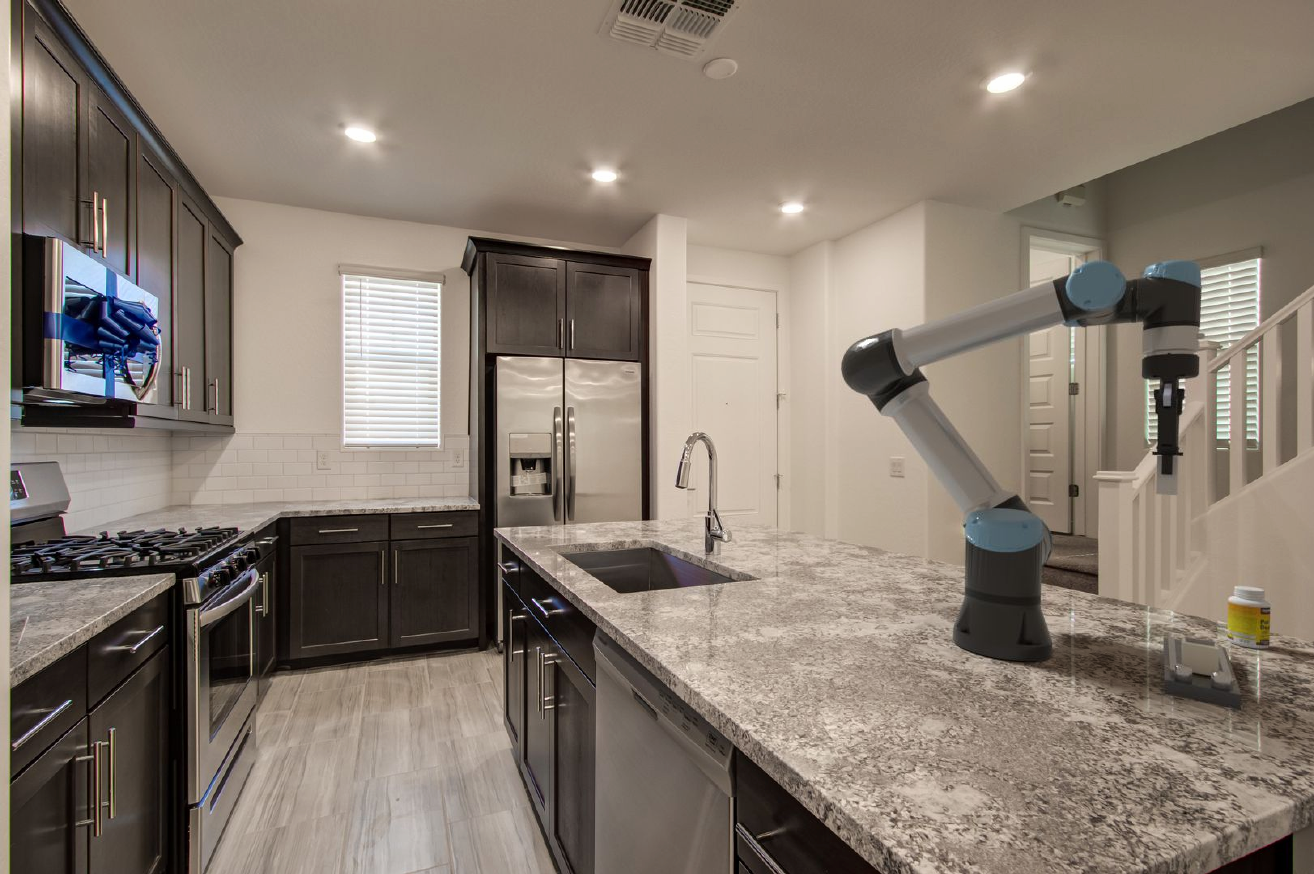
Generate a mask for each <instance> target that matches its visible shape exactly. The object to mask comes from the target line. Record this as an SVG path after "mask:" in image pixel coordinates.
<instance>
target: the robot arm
mask: <svg viewBox="0 0 1314 874" xmlns="http://www.w3.org/2000/svg"><path fill="white" fill-rule="evenodd" d="M1201 270H1202V269H1201V266H1200V264H1199V263H1198V262H1196V261H1194V260H1189V259H1188V260H1187V259H1180V260H1179V259H1177V260H1176V259H1174V260H1167V261H1163V262H1156V263H1154V264H1151V265H1149V266H1147V267H1146V268H1145V270H1144V271H1143V275H1142V277H1139V278H1133V279H1126V277H1125V275H1124V274H1123V272H1122V270H1121V269H1120V268H1119V267H1118V265H1116V264H1115V263H1113V262H1110V261H1106V260H1098V259H1097V260H1091V261H1088V262H1084V263H1082V264H1080V265H1079V266H1078V267H1076V268H1075V269H1074V270H1073V271H1072V272H1071V273H1070V274H1067V275H1063V276H1061V277H1058V278H1055V279H1053V280H1050V281H1046V282H1043V283H1041V284H1038V285H1035V286H1034V285H1033V286H1032V287H1029V288H1026V289H1023V290H1020V291H1017V292H1014V293H1012V294H1008V295H1005V296H1002V297H999V298H997V299H994V300H991V301H987V302H985V303H982V304H978V305H975V306H973V307H970V308H967V309H964V310H961V311H958V312H954V313H952V314H949V315H946V316H944V317H940V318H937V319H934V320H932V321H931V320H930V321H928V322H925V323H922V324H920V325H916V326H913V327H910V328H907V329H905V330H904V329H903V330H902V329H900V328H898V327H894V328H891V329H890V328H889V329H888V330H885V331H882V332H879V333H875V334H872V335H869V336H867V337H864V338H861V339H859V340H857V341H855V342H854V343H853V344H851V345H850V346H849V347H848V349H846V350H845V353H844V354H843V357H842V360H841V362H840V363H841V364H840V365H841V366H840V371H841V376H842V378H843V380H844V383H846V385H847V386H848V387H849V388H850V389H851V390H852V391H854V392H856V393H858V394H861V395H864V396H866V397H868V399H869V401H870V402H871V404H872V405H873V406H874V407H875V408H876V410H877V411H878V413H879V414H880V415H881V416H884V417H890V418H892V419H893V421H894V422H895V423H896V425H898V427H899V428H900V430H901V431H902V432H903V434H904V435H905V436H906V438H907V439H908V440H909V442H910V443H911V445H912V446H913V448H914V449H915V450H916V451H917V452H918V454H919V455H920V457H921V458H922V460H923V461H924V462H925V464H926V465H927V466H928V468H929V469H930V471H932V473H933V475H934V476H935V477H936V478H937V480H938V481H939V482H940V484H941V485H942V486H943V488H944V490H945V491H946V492H947V493H948V495H949V496H950V497H951V499H952V500H953V502H954V503H955V504H956V505H957V506H958V508H959V509H960V512H962V519H961V526H962V527H963V528H964V536H965V550H964V552H965V553H964V555H965V556H964V596H963V601H962V604H961V605H960V608H959V611H958V614H957V616H956V619H955V621H954V624H953V628H952V641H953V643H954V644H955V645H957V646H959V647H960V648H962V649H964V650H966V651H969V652H973V653H974V654H978V655H983V656H985V657H991V658H994V659H1001V660H1007V661H1017V662H1018V661H1019V662H1041V661H1046V660H1048V659H1051V658H1052V657H1053V639H1052V636H1051V634H1050V631H1049V627H1048V624H1047V622H1046V617H1045V616H1044V612H1043V610H1042V568H1043V567H1044V565H1045V564H1046V563H1047V562H1048V561H1049V559H1050V557H1051V555H1052V551H1053V547H1054V542H1053V535H1052V532H1051V530H1050V528H1049V526H1048V525H1047V524H1046V523H1045V521H1044V520H1043V519H1041V517H1039V516H1038V515H1036V514H1035V513H1033V512H1032V511H1031V509H1030V507H1028V506H1027V504H1026V503H1025V502H1024V501H1023V499H1022V498H1021V497H1020V495H1018V494H1017V492H1014V491H1007V490H1005V489H1003V487H1002V486H1001V485H1000V484H999V482H998V481H997V480H996V479H995V477H994V476H993V475H992V473H991V471H990V470H988V468H987V467H986V466H985V464H984V463H983V461H981V459H980V458H979V457H978V455H977V454H976V453H975V451H974V450H973V449H972V447H971V446H970V445H969V444H968V443H967V441H966V440H965V438H963V436H962V435H961V434H960V432H959V431H958V430H957V429H956V427H955V426H954V424H953V423H952V422H951V421H950V420H949V418H948V417H947V415H946V414H945V413H944V412H943V410H942V409H941V407H939V405H938V404H937V403H936V401H935V400H934V399H933V397H932V396H931V395H930V393H929V389H930V385H931V383H930V382H929V380H928V379H927V377H926V376H925V375H924V373H923V372H922V371H921V369H920V368H921V367H925V366H928V365H931V364H934V363H937V362H940V361H944V360H947V359H951V358H953V357H957V356H959V355H960V356H961V355H964V354H967V353H969V352H974V351H976V350H980V349H983V348H986V347H987V348H988V347H990V346H994V345H996V344H997V345H998V344H1000V343H1003V342H1006V341H1010V340H1013V339H1016V338H1019V337H1023V336H1026V335H1029V334H1033V333H1035V332H1040V331H1043V330H1046V329H1049V328H1052V327H1056V326H1059V325H1063V326H1064V327H1066V328H1076V327H1077V328H1079V327H1080V328H1087V327H1094V326H1095V327H1096V326H1107V325H1117V324H1131V323H1132V324H1134V323H1142V333H1141V334H1142V336H1141V338H1142V339H1141V354H1143V355H1145V356H1144V357H1143V358H1142V360H1141V377H1142V379H1144V380H1148V381H1149V380H1150V381H1151V380H1152V381H1157V380H1158V381H1159V388H1155V389H1153V398H1154V400H1155V401H1154V402H1155V406H1154V408H1155V410H1154V414H1156V415H1157V429H1156V430H1157V432H1156V433H1157V443H1156V444H1157V445H1156V446H1155V447H1156V448H1155V449H1156V451H1151V453H1152V454H1151V455H1152V456H1156V485H1155V487H1156V488H1155V491H1156V492H1155V493H1156V495H1164V496H1165V495H1168V496H1178V485H1179V483H1178V482H1179V480H1178V479H1179V477H1178V476H1179V470H1178V469H1179V457H1183V456H1184V452H1181V451H1179V450H1180V447H1179V438H1180V437H1179V434H1180V433H1179V432H1180V431H1179V430H1180V416H1182V414H1183V406H1184V405H1183V403H1184V402H1183V401H1184V400H1185V398H1186V396H1185V395H1186V391H1185V388H1181V387H1180V380H1187V379H1194V378H1197V377H1198V376H1199V375H1200V359H1201V358H1200V356H1199V355H1198V354H1195V353H1197V352H1198V351H1200V340H1202V339H1205V337H1206V335H1205V333H1203V332H1200V331H1201V316H1202V315H1201V313H1202V312H1201V307H1202V293H1203V292H1202V289H1203V286H1202V272H1201Z"/></svg>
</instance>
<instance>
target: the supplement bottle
mask: <svg viewBox="0 0 1314 874" xmlns="http://www.w3.org/2000/svg"><path fill="white" fill-rule="evenodd" d="M1265 595H1266V594H1265V590H1264V589H1262V588H1259V587H1254V586H1253V587H1252V586H1246V585H1235V586H1234V589H1233V595H1232V596H1229V597H1228V599H1227V640H1228V641H1229V642H1230V643H1231V644H1234V645H1236V646H1241V647H1245V648H1249V649H1255V650H1256V649H1257V650H1259V649H1260V650H1264V649H1265V650H1266V649H1268V648H1269V647H1270V642H1271V637H1270V636H1271V603H1270V602H1269V601H1267V600H1265V597H1266V596H1265Z"/></svg>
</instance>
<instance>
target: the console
mask: <svg viewBox="0 0 1314 874" xmlns="http://www.w3.org/2000/svg"><path fill="white" fill-rule="evenodd" d="M1162 641H1163V646H1162V648H1163V649H1162V652H1163V679H1164V680H1163V683H1164V694H1165V695H1169V696H1174V697H1179V698H1183V699H1190V700H1194V701H1198V702H1203V703H1208V704H1212V705H1216V706H1222V707H1227V708H1231V709H1236V710H1242V693H1241V690H1240V686H1239V684H1238V680H1237V679H1236V675H1235V672H1234V670H1233V666H1232V664H1231V663H1232V662H1231V660H1230V658H1229V655H1228V652H1227V648H1226V647H1224V646H1223V645H1222V644H1218V643H1216V644H1217V645H1218V648H1219V671H1215V670H1213V671H1211V676H1210V675H1205V674H1200V673H1194V672H1192V667H1191V666H1188V665H1184V664H1181V661H1182V639H1176V638H1175V637H1174V636H1167V637H1163V640H1162Z"/></svg>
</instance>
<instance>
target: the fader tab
mask: <svg viewBox="0 0 1314 874" xmlns="http://www.w3.org/2000/svg"><path fill="white" fill-rule="evenodd" d="M1181 640H1182V661H1181V664H1184V665H1188V666H1191V667H1192V672H1194V673H1200V674H1205V675H1210V676H1211V671H1213V670H1215V671H1219V648H1218V645H1217V644H1218V643H1216V642H1215V641H1214V640H1208V639H1207V640H1206V639H1201V638H1196V637H1195V638H1194V637H1190V636H1185V638H1181Z"/></svg>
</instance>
